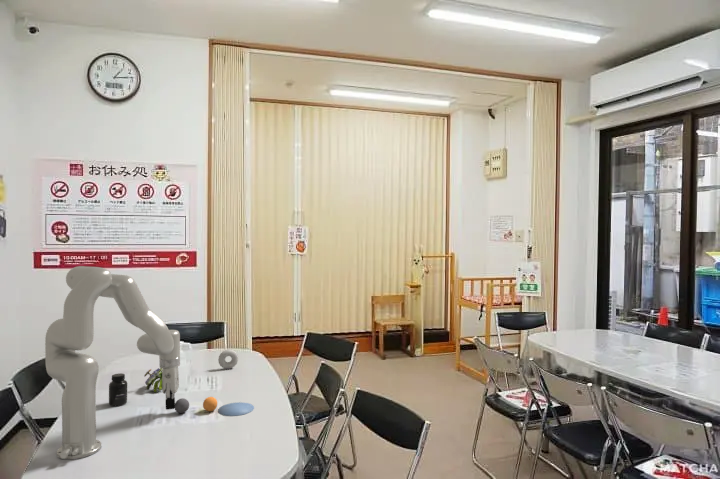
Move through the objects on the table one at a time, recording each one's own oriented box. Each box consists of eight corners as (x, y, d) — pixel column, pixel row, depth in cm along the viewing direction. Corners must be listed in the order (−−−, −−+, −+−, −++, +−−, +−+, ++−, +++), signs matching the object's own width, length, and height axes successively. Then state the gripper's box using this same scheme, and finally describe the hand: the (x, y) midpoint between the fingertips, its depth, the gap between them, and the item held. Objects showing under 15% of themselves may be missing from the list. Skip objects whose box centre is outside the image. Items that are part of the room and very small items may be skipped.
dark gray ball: (180, 418, 188) (191, 407, 189) (170, 408, 188) (181, 398, 188) (182, 413, 194) (193, 403, 195) (172, 403, 193) (183, 393, 194)
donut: (218, 370, 247) (218, 351, 247) (218, 368, 250) (217, 349, 250) (238, 368, 251) (238, 349, 251) (237, 366, 254) (237, 347, 254)
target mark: (253, 414, 190) (253, 414, 190) (216, 417, 187) (216, 416, 187) (254, 401, 203) (254, 401, 203) (219, 404, 201) (219, 403, 201)
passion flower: (148, 401, 219) (144, 375, 224) (174, 393, 223) (169, 368, 228) (145, 394, 210) (141, 368, 215) (172, 386, 214) (167, 360, 219)
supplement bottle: (119, 407, 196) (119, 378, 196) (105, 406, 198) (104, 376, 197) (131, 401, 203) (130, 373, 203) (116, 400, 204) (116, 371, 204)
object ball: (216, 413, 191) (216, 399, 191) (202, 414, 190) (202, 400, 190) (218, 407, 196) (218, 394, 196) (203, 408, 195) (203, 395, 195)
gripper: (177, 366, 183) (177, 415, 184) (182, 356, 198) (182, 401, 199) (156, 368, 182) (156, 416, 182) (162, 357, 196) (163, 402, 197)
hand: (170, 408), depth 190 cm, fingers closed
